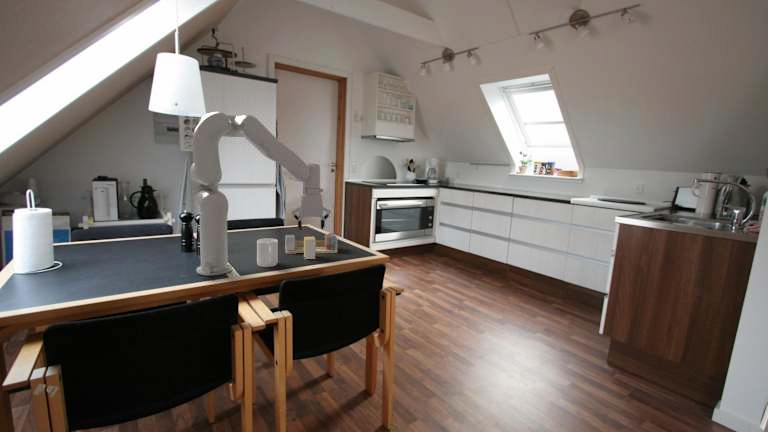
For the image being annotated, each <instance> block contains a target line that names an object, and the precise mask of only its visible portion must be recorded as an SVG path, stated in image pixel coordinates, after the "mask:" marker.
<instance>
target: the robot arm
mask: <svg viewBox="0 0 768 432" xmlns="http://www.w3.org/2000/svg"><path fill="white" fill-rule="evenodd" d="M222 137H225V138H245V139H246V140H247V142H249V143H250V144H251V145H252V146H253V147H254V148H255V149H257V150H258V152H259V153H260V154H261V155H263V156H264V157H265V158H267V159H269V160H271V161H274V162H275V163H277V164H279V165H280V166H282V168H283V170H282V173H283V176H284V177H285V178H286V179H287V180H290V181H294V182H295V181H296V182H300V183H302V194H300V198H299V207H297V208H295V209H293V210H291V215H292V216H293V218H294V219H296V221H297V228H298V229H299V231H302V219H304V218H320V229H321V230H322V231H323V230H324V228H325V225H326V224H325V221H326V220H327V219H328V218H329V217H330V214H331V212H332V211H331V210H330V209H328V208H326V207H324V203H323V197H322V196H323V195H322V193H324V189H323V188H321V166H320V164H318V163H314V162H313V163H311V162H309V163H308V162H307V163H306V162H305V161H304V160H303V159H302V158H301V157H300V156H299V155H298V154H296V153H295V152H294V151H293V150H291V149H290V148H289V147H287V146H286V145H285V144H284V143H283V142H281V141H280V140H278V138H276V137H275V135H273V133H272V132H271V131H270V130H269V129H268V128H267V127H266V126H265V125H264V124H263V123H262V122H261V121H259V119H258V118H257V117H255V116H254V115H252V114H244V115H230V114H225V112H222V111H221V112H220V111H213V112H209V113H205V114H204V115H203V116H202V117H201V118H200V120H199V123H198V124H197V125H196V127H195V129H194V132H193V135H192V141H191V143H192V145H191V147H192V153H193V154H192V156H193V163H192V165H191V166H190V168H189V178H190V184H191V191H192V197H193V202H194V204H195V206H196V207H197V208H198V209H199V210H200V211H199V248H200V249H199V250H200V253H199V254H200V266H198V267H196V271H195V272H196V273H197V274H198V275H201V276H220V275H224V274H228V273H230V272H232V270H233V266H232V265H231V264H229V263H228V261H229V260H228V257H229V256H228V254H229V253H228V214H229V200H228V198H227V196H226V195H225V194H224V193H223V192H222V191H220V190H219V183H221V181H222V178H223V177H222V176H223V174H222V173H223V172H222V168H221V159H220V152H219V151H220V150H219V143H220V140H221V138H222ZM297 212H299V216H298V215H297V214H296V213H297ZM324 212H326V214H325V215H324Z"/></svg>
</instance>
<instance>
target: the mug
mask: <svg viewBox="0 0 768 432" xmlns="http://www.w3.org/2000/svg"><path fill="white" fill-rule="evenodd" d="M278 244H279V242H278V239H276V238H267V237H266V238H265V237H264V238H260V239H257V240H256V264H257V266H259V267H261V268H270V267H271V268H272V267H275V266H277V265H278V261H279V260H278V258H279V257H278V256H279V255H278V252H279V251H278V249H279V248H278V246H279V245H278Z"/></svg>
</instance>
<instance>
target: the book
mask: <svg viewBox="0 0 768 432" xmlns="http://www.w3.org/2000/svg"><path fill="white" fill-rule="evenodd" d="M303 241H304V254H303V258H304V257H305V258H304V260H305V259H315V260H316V254H317V253H316V241H317V239H316V237H315V236H303Z"/></svg>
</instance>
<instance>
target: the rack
mask: <svg viewBox="0 0 768 432" xmlns="http://www.w3.org/2000/svg"><path fill="white" fill-rule="evenodd" d="M338 240H339V239H338V237H337V235H336V234H335V233H333V232H328V233H325V234H324V240H316V254H337V253H338V244H339V243H338V242H339V241H338ZM284 250H285V255H297V254H296V253H304V240H295V250H286V248H285V247H284Z"/></svg>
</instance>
